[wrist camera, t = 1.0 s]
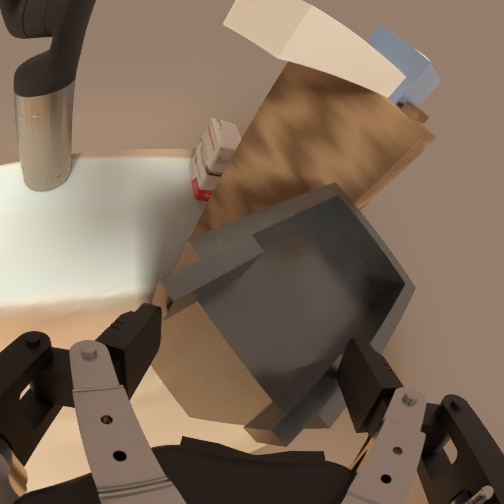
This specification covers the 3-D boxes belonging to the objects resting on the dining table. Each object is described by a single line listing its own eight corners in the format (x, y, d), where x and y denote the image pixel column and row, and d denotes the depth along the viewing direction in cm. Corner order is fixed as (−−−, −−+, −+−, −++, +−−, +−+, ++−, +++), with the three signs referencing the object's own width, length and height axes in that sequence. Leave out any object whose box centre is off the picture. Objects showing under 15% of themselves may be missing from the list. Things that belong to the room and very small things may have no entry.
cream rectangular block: (214, 19, 9) (273, -74, 4) (378, 81, 23) (407, 46, 18) (290, 67, 8) (377, -48, 3) (412, 112, 22) (444, 77, 17)
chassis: (128, 358, 29) (146, 257, 10) (220, 303, 38) (335, 182, 19) (177, 425, 27) (300, 461, 8) (262, 360, 36) (415, 287, 18)
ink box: (220, 201, 48) (249, 152, 39) (194, 200, 46) (218, 147, 37) (212, 168, 52) (236, 121, 43) (188, 165, 49) (209, 115, 40)
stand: (187, 244, 41) (310, 29, 16) (239, 222, 48) (361, 57, 23) (233, 311, 38) (431, 126, 14) (281, 278, 45) (442, 131, 21)
